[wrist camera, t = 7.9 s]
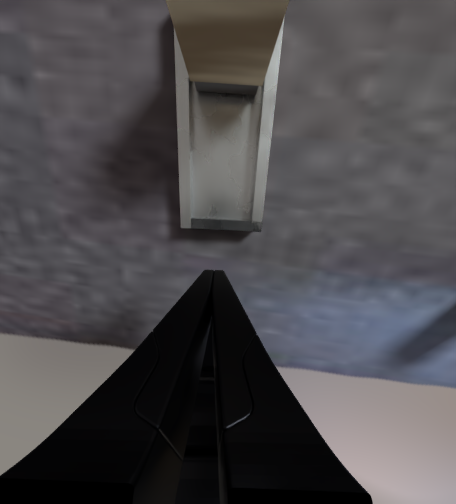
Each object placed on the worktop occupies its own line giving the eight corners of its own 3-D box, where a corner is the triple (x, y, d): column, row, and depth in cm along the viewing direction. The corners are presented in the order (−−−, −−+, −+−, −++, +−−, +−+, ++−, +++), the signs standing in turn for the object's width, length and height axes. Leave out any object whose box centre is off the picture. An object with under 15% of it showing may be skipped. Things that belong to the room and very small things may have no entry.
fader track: (256, 227, 19) (261, 231, 17) (186, 224, 19) (180, 227, 17) (278, 9, 14) (289, -29, 11) (180, 1, 13) (171, -40, 11)
